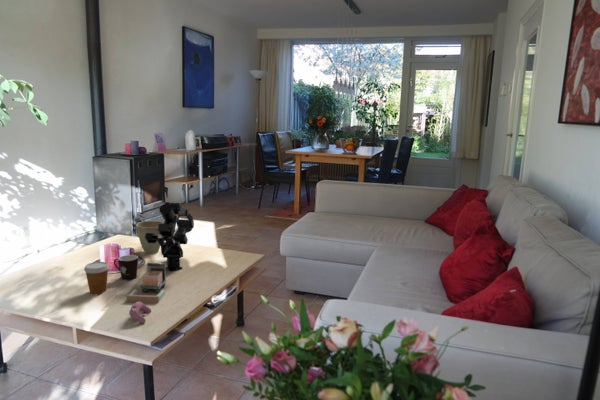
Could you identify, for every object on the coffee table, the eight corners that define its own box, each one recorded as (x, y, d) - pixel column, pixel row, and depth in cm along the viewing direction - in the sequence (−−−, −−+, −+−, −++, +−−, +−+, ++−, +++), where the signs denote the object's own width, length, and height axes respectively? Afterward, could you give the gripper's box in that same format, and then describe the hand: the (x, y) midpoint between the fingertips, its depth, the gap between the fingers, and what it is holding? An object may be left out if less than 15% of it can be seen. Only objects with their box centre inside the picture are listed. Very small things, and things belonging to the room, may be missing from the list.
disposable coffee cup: (98, 297, 181) (96, 270, 179) (80, 294, 184) (78, 266, 182) (115, 289, 190) (113, 263, 187) (98, 286, 193) (96, 260, 191)
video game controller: (141, 316, 169) (132, 301, 167) (152, 311, 169) (143, 296, 167) (134, 328, 159) (125, 312, 158) (146, 323, 159) (136, 307, 158)
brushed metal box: (148, 285, 194) (147, 262, 192) (166, 285, 194) (165, 263, 192) (140, 293, 185) (139, 269, 183) (159, 293, 185) (158, 270, 183)
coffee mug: (142, 278, 203) (141, 258, 201) (124, 283, 197) (123, 262, 195) (130, 272, 211) (129, 252, 209) (112, 276, 205) (111, 256, 203)
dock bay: (135, 294, 185) (134, 287, 185) (165, 295, 185) (164, 288, 185) (126, 303, 177) (126, 296, 176) (158, 304, 176) (158, 297, 176)
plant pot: (132, 254, 237) (130, 226, 235) (145, 247, 252) (144, 220, 249) (157, 256, 235) (156, 228, 232) (170, 249, 250) (169, 221, 247)
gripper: (145, 215, 203) (137, 245, 194) (185, 217, 202) (179, 246, 194) (151, 228, 212) (144, 257, 203) (190, 229, 212) (184, 258, 203)
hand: (162, 254), depth 200 cm, fingers closed
